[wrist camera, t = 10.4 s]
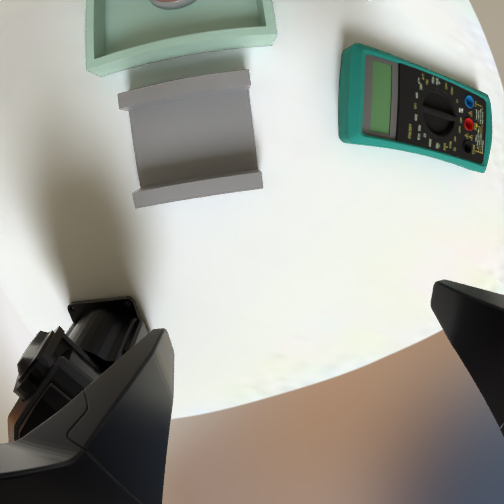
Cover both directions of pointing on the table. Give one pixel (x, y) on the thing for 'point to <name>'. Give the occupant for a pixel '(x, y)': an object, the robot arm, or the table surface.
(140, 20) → the tray
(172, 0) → the fuse
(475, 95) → the digital multimeter
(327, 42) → the table surface
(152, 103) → the grey cradle stand
